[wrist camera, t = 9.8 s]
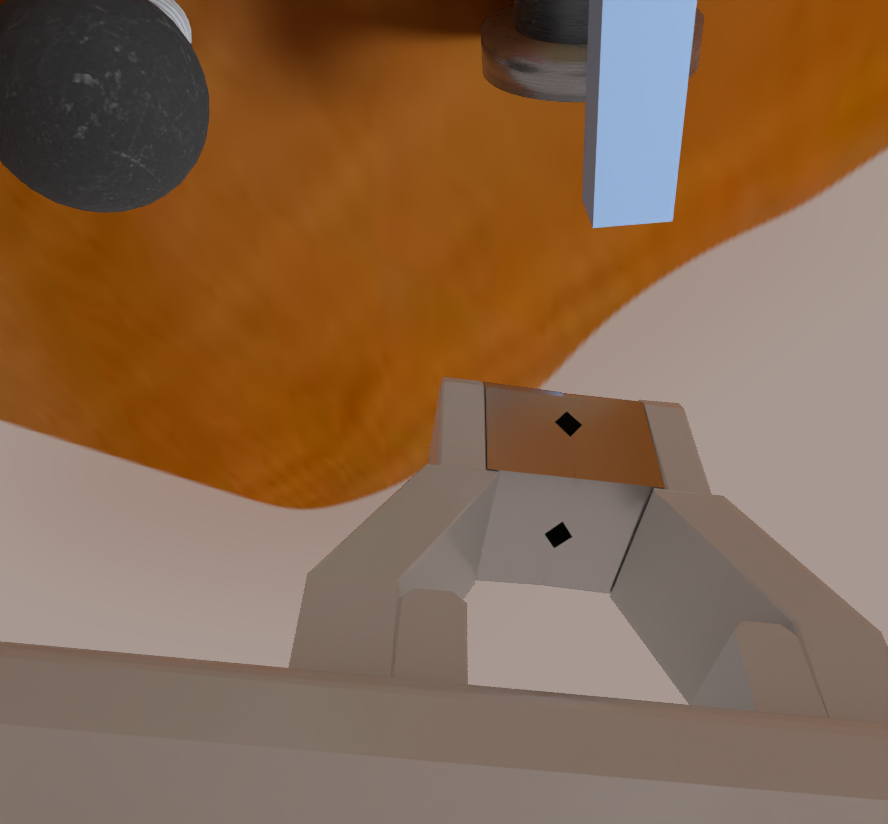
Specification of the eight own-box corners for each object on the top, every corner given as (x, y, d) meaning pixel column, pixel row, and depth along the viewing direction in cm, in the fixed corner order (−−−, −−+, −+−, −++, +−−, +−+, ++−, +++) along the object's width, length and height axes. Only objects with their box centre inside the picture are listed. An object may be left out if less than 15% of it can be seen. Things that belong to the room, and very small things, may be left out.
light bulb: (79, -110, 24) (-70, -33, 17) (266, -30, 26) (209, 75, 18) (57, 72, 28) (-76, 207, 20) (224, 133, 29) (160, 281, 21)
